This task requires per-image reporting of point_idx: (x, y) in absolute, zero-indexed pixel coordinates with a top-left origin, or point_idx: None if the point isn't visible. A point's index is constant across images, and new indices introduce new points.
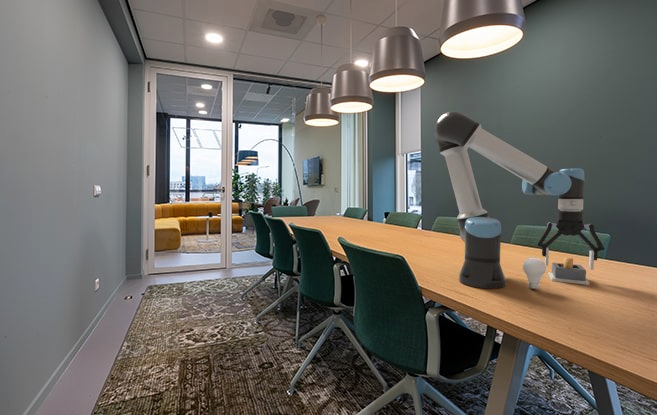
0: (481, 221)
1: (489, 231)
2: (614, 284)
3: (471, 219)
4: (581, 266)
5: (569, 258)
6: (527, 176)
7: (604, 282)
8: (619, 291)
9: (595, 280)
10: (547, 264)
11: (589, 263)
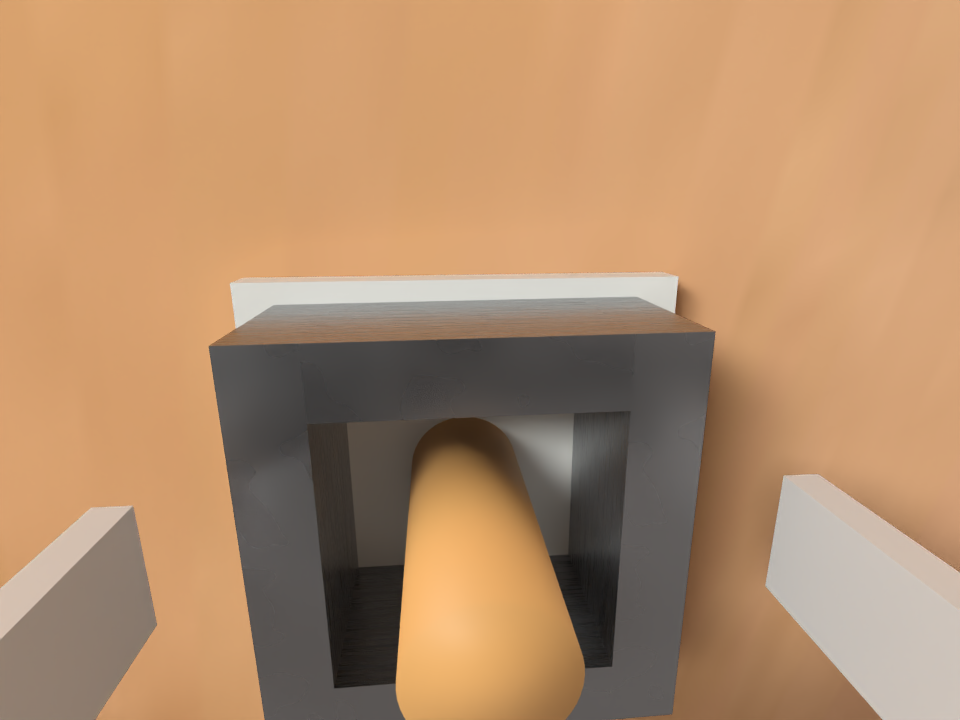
0: None
1: None
2: (893, 443)
3: None
4: (688, 476)
5: (507, 695)
6: None
7: (828, 399)
8: (814, 686)
9: (766, 343)
10: (132, 645)
11: (839, 552)
